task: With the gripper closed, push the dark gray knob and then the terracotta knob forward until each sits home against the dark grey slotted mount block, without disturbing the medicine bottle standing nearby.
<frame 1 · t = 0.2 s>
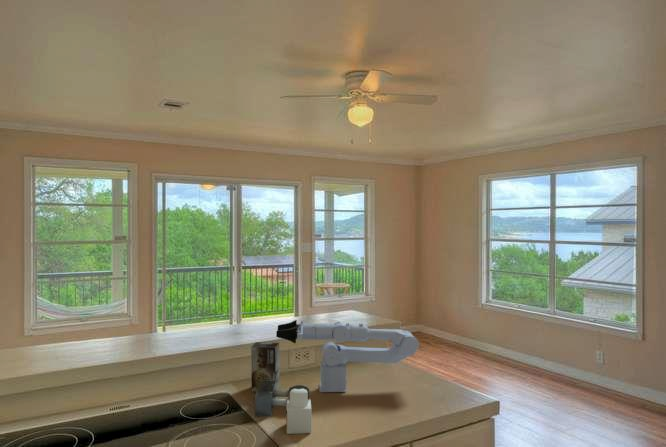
hand: (277, 331, 162), 21 cm above the countertop, tool horizontal, fingers open, 7 cm apart
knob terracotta: (281, 402, 144), point 3 cm above the countertop, slide at 0.0 cm
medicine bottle: (298, 428, 133), on the countertop
knob dark gray: (282, 393, 151), point 3 cm above the countertop, slide at 0.0 cm
coffee box: (265, 389, 163), on the countertop
mount: (265, 407, 147), on the countertop
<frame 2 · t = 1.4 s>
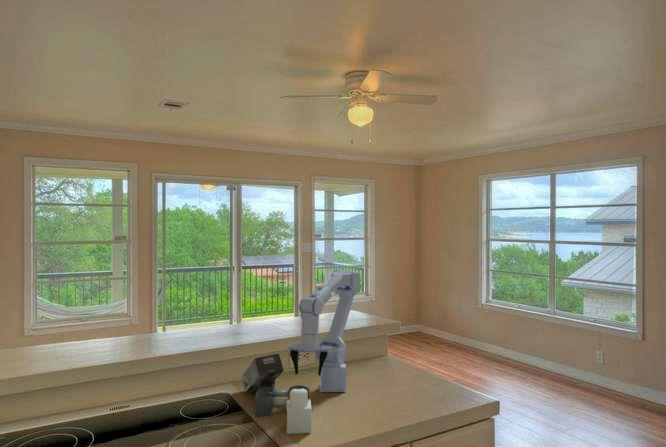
hand: (308, 374, 151), 10 cm above the countertop, tool pointing down, fingers open, 7 cm apart
coffee box: (254, 382, 163), point 2 cm above the countertop, touching mount
everything else where it was.
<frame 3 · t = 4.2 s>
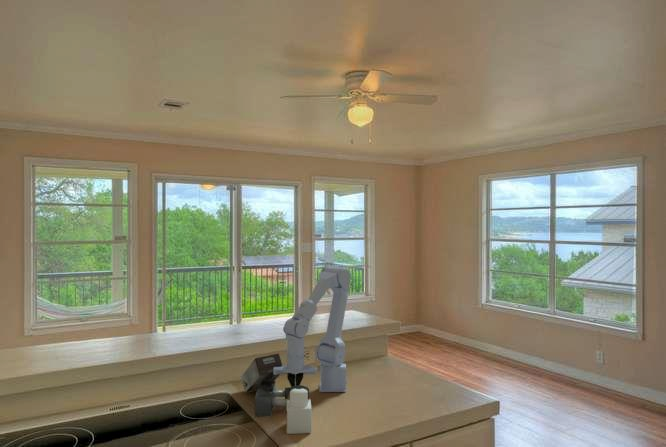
hand: (295, 395, 151), 2 cm above the countertop, tool pointing down, fingers closed
knob dark gray: (278, 393, 151), point 3 cm above the countertop, slide at 1.4 cm, touching gripper
everything else where it was.
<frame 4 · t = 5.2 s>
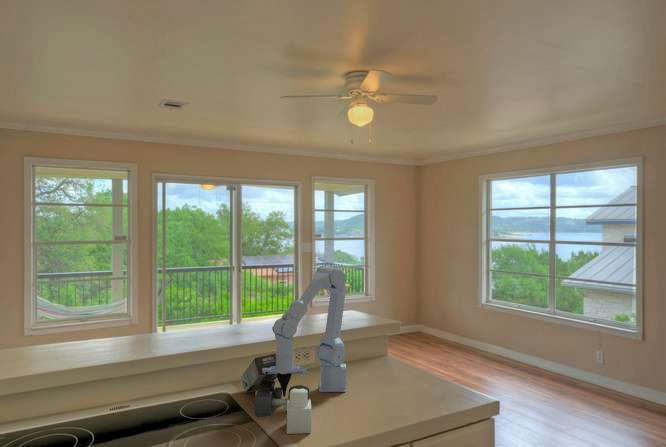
hand: (284, 395, 151), 2 cm above the countertop, tool pointing down, fingers closed
knob dark gray: (268, 393, 151), point 3 cm above the countertop, slide at 4.7 cm, touching gripper
coffee box: (253, 382, 163), point 2 cm above the countertop, touching gripper
everything else where it was.
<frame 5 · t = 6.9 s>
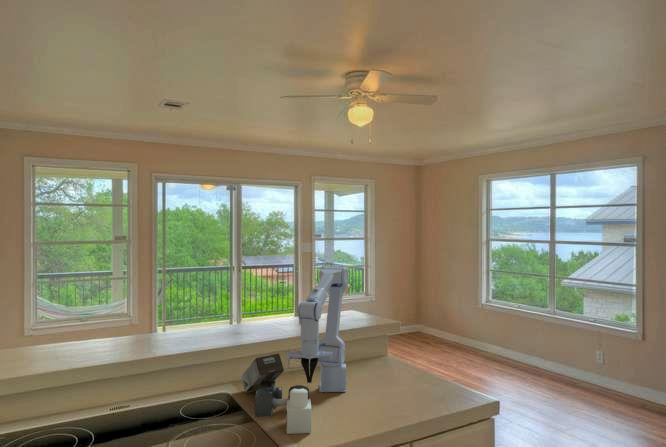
hand: (309, 381, 144), 9 cm above the countertop, tool pointing down, fingers closed
knob dark gray: (269, 393, 151), point 3 cm above the countertop, slide at 4.5 cm
coffee box: (254, 382, 163), point 2 cm above the countertop, touching mount
everything else where it was.
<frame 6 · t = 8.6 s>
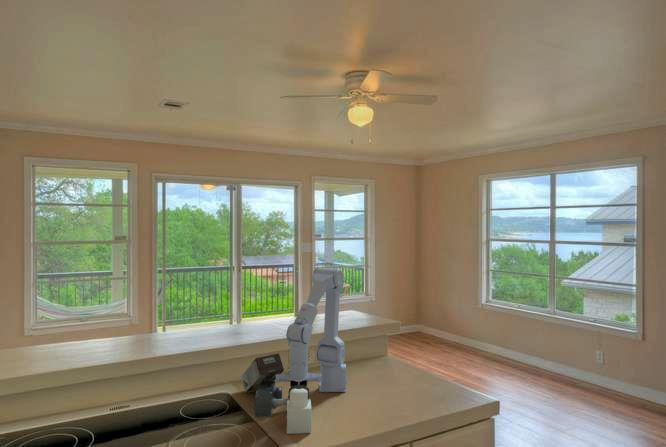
hand: (298, 403, 144), 2 cm above the countertop, tool pointing down, fingers closed
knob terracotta: (281, 402, 144), point 3 cm above the countertop, slide at 0.0 cm, touching gripper
everything else where it was.
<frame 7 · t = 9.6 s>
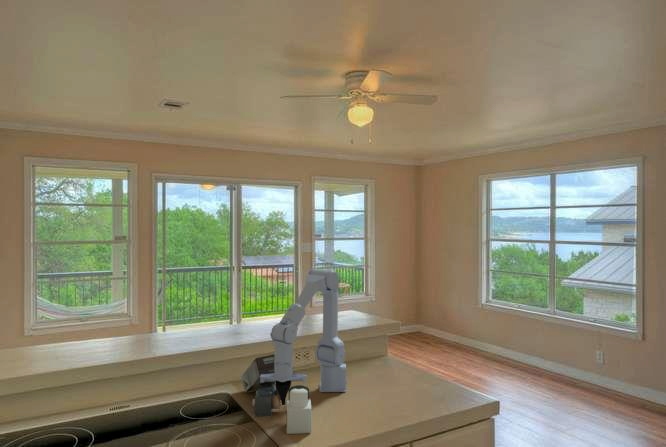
hand: (283, 404, 144), 2 cm above the countertop, tool pointing down, fingers closed
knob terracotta: (266, 402, 144), point 3 cm above the countertop, slide at 4.6 cm, touching gripper
everything else where it was.
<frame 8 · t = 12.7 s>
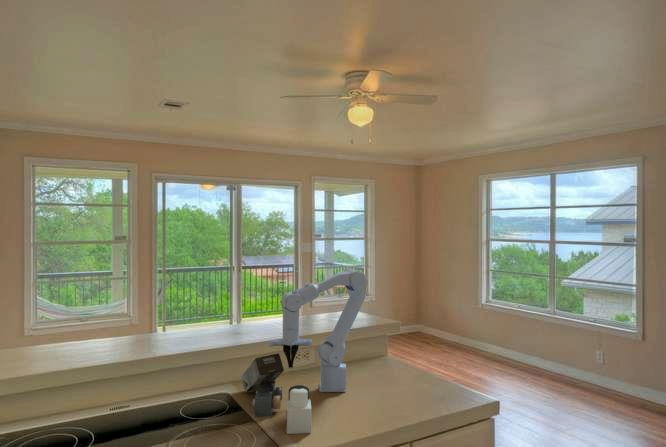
hand: (290, 366, 157), 10 cm above the countertop, tool pointing down, fingers closed
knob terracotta: (266, 402, 144), point 3 cm above the countertop, slide at 4.5 cm
everything else where it was.
at the end: knob dark gray slide at 4.5 cm; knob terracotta slide at 4.5 cm; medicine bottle moved 0.2 cm from its start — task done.
